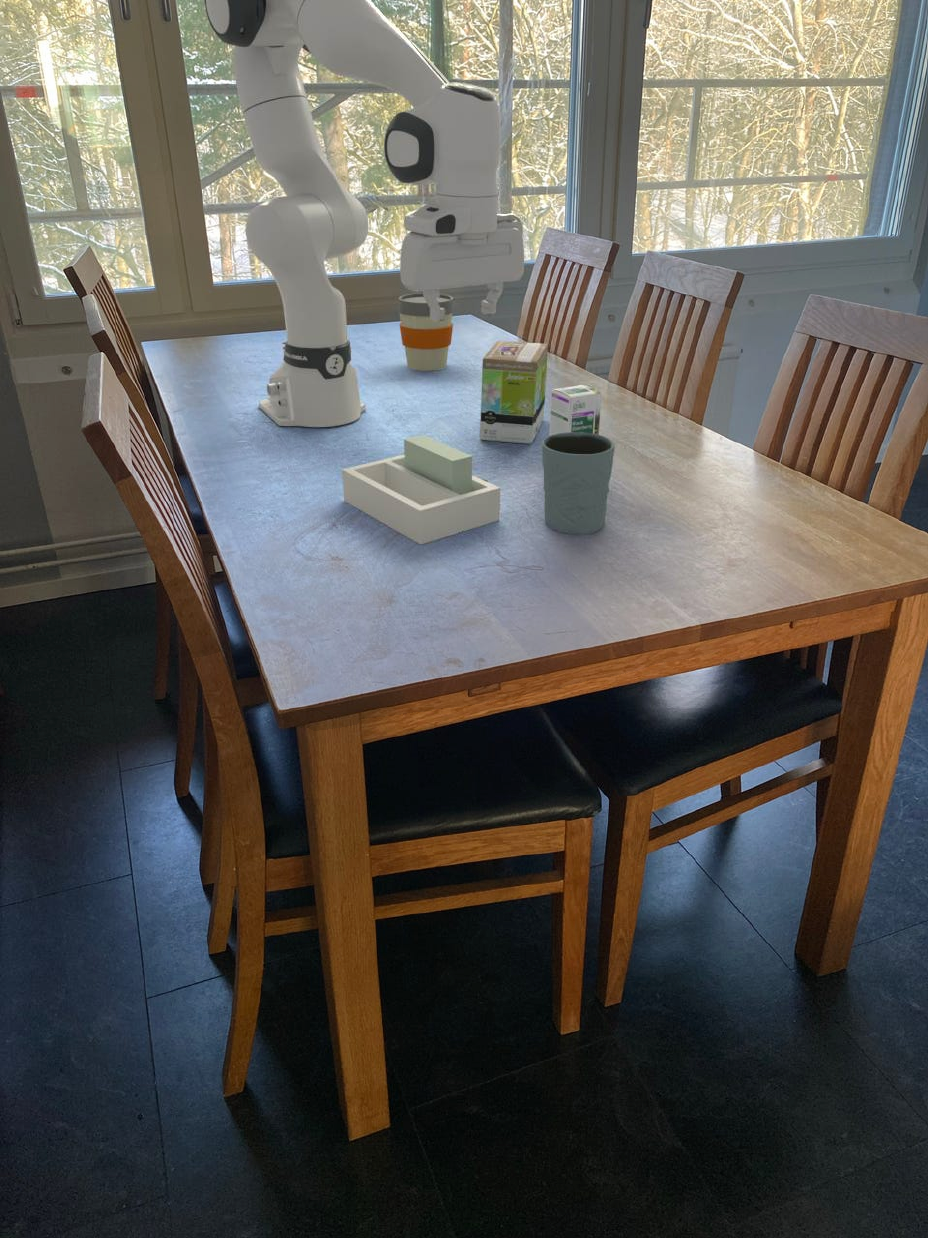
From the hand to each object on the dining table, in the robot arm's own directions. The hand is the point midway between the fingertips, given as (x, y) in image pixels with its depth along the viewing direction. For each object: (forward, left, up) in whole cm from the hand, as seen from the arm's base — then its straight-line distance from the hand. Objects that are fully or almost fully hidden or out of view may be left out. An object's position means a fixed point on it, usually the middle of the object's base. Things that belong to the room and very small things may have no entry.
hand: (463, 317), depth 137 cm
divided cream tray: (+7, -14, -25) cm, 29 cm away
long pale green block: (+7, -10, -24) cm, 27 cm away
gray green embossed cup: (+24, +1, -25) cm, 35 cm away
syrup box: (+11, +13, -25) cm, 31 cm away
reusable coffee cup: (-62, +37, -25) cm, 76 cm away
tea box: (-14, +22, -25) cm, 36 cm away
